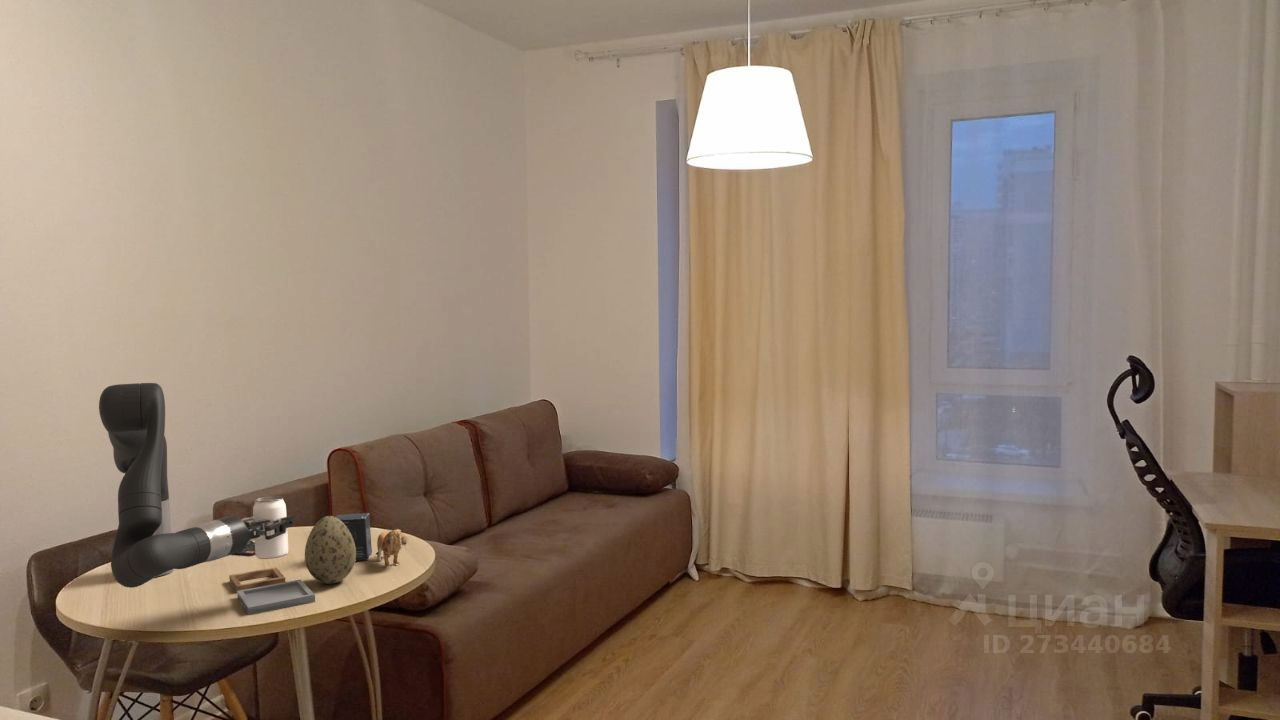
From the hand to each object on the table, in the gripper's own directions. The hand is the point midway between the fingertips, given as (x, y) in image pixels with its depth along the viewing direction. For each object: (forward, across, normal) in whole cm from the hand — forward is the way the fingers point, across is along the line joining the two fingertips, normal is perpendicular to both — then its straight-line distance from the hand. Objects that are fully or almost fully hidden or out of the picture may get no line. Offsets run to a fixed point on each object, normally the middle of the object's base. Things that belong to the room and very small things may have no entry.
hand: (280, 519), depth 195 cm
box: (+28, +5, +16) cm, 33 cm away
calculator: (+26, +38, +17) cm, 49 cm away
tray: (-2, 0, +17) cm, 17 cm away
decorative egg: (+11, -4, +17) cm, 20 cm away
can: (-3, 0, +7) cm, 8 cm away
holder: (+5, +13, +16) cm, 22 cm away
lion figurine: (+28, -6, +17) cm, 33 cm away
